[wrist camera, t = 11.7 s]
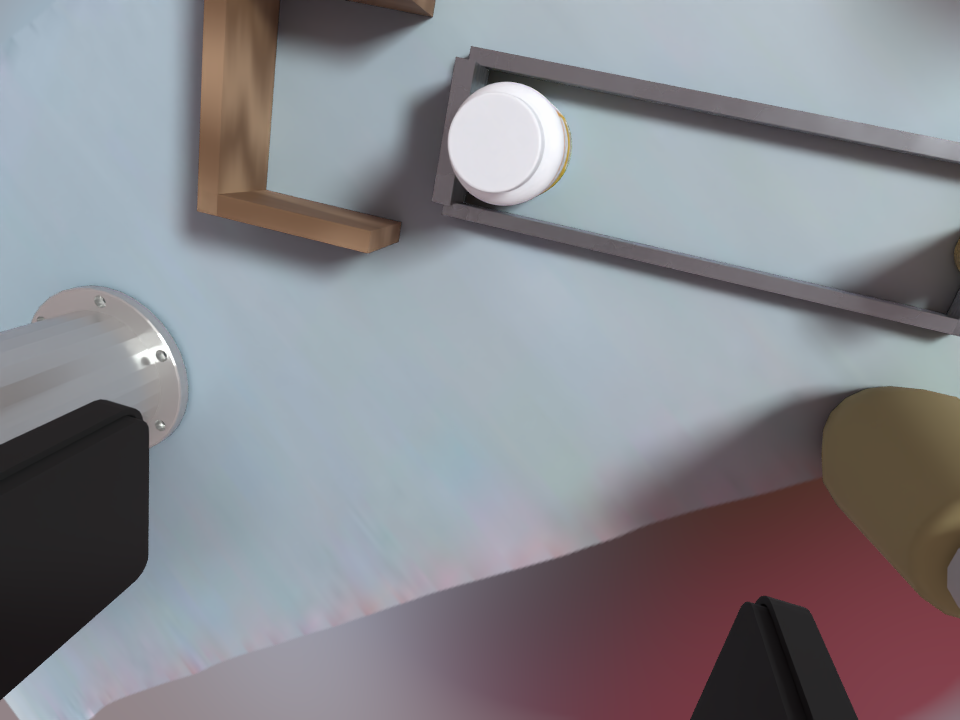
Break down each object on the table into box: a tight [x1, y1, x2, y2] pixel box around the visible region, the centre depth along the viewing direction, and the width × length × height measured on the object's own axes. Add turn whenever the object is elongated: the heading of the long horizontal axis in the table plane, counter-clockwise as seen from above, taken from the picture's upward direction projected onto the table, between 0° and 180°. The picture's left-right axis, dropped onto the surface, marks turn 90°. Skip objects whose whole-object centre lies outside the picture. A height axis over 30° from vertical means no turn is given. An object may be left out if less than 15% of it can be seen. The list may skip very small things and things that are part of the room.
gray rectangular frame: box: [432, 46, 960, 336], centre depth 29 cm, size 9×30×7 cm, turn 79°
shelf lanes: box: [197, 0, 435, 253], centre depth 32 cm, size 21×10×5 cm, turn 169°
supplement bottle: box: [448, 82, 572, 206], centre depth 29 cm, size 5×5×10 cm
